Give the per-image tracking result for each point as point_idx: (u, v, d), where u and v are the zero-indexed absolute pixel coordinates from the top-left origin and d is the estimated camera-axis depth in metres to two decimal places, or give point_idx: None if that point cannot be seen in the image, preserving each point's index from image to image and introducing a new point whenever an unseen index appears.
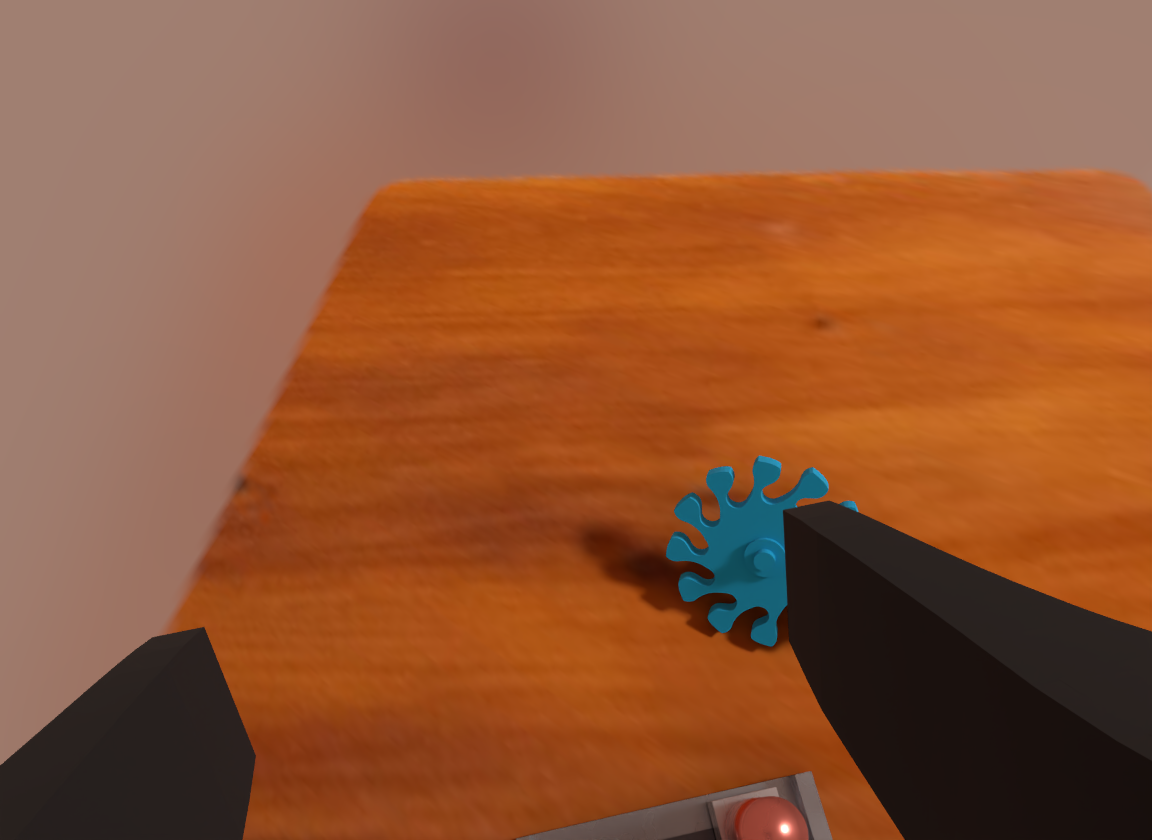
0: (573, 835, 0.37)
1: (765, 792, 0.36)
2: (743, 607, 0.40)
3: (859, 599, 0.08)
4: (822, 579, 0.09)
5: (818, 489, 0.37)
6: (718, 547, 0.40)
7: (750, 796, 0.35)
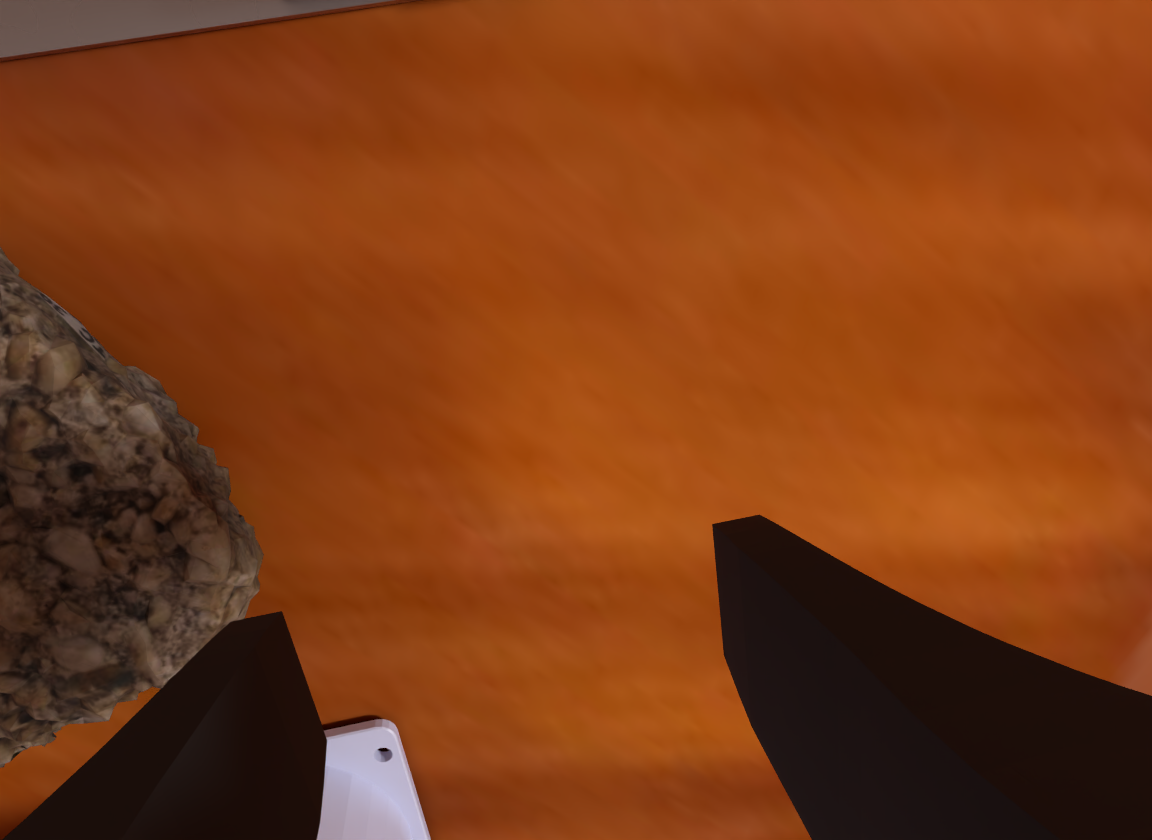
0: None
1: None
2: None
3: (774, 617, 0.08)
4: (744, 595, 0.09)
5: None
6: None
7: None
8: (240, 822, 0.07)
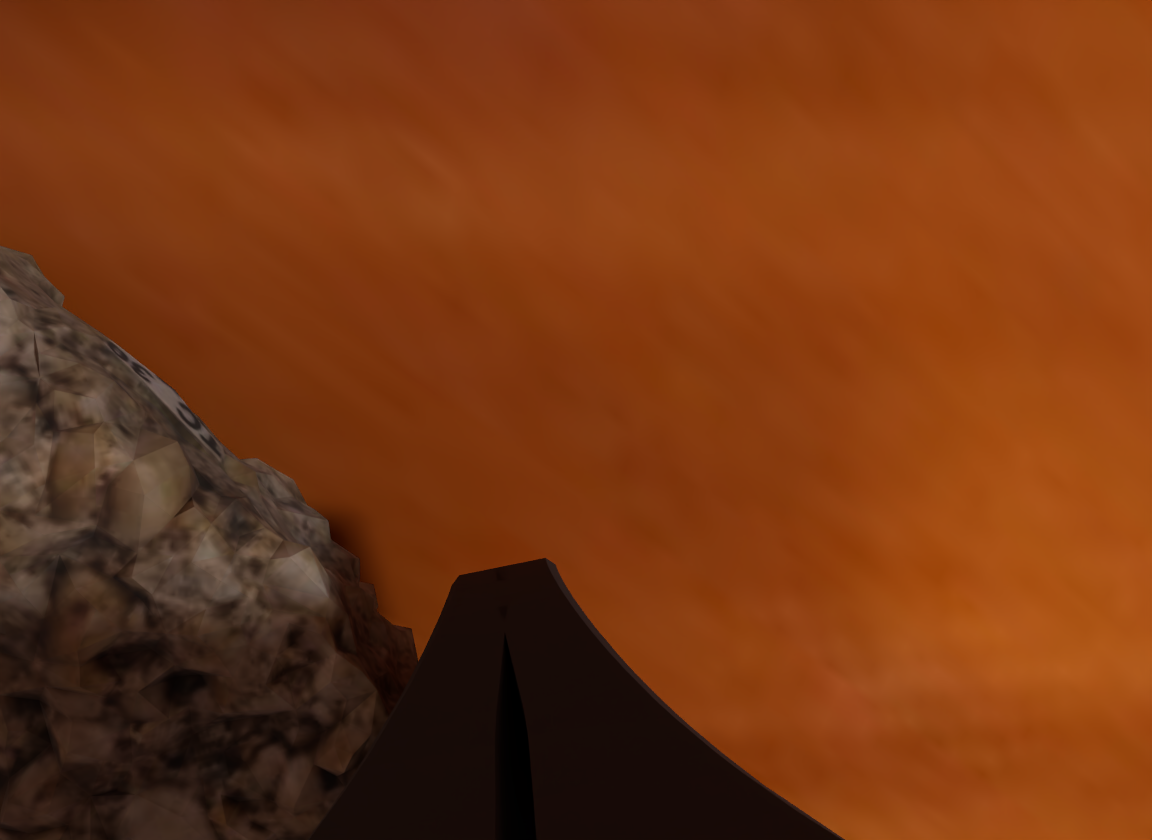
0: None
1: None
2: None
3: (513, 673, 0.08)
4: None
5: None
6: None
7: None
8: (523, 759, 0.08)
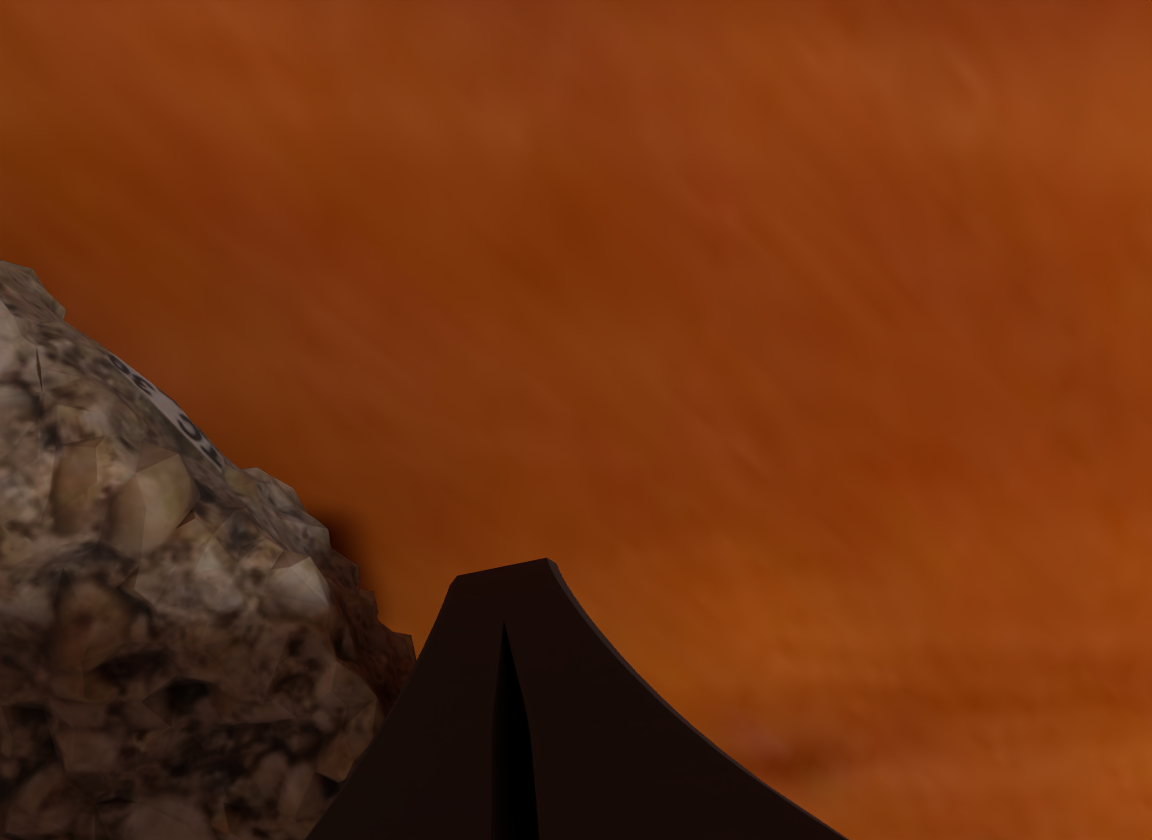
0: None
1: None
2: None
3: (515, 672, 0.08)
4: None
5: None
6: None
7: None
8: (520, 761, 0.08)
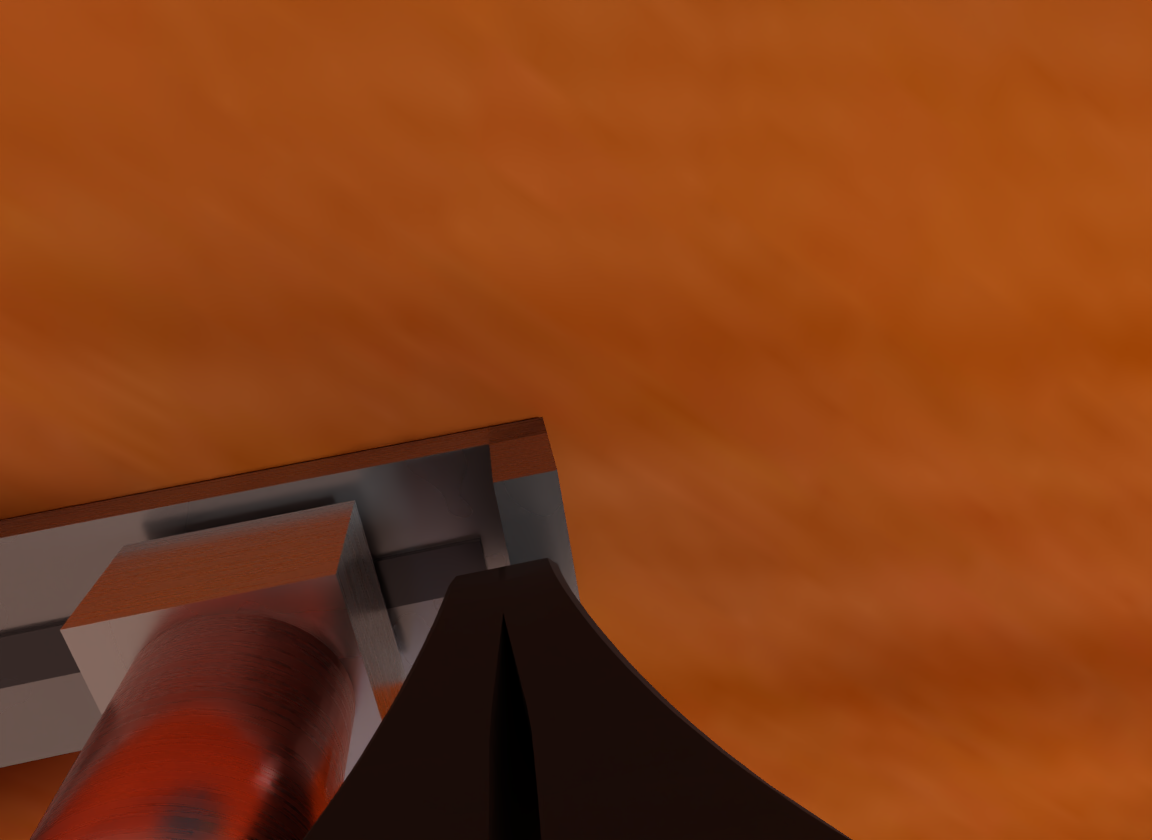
0: None
1: (290, 592, 0.09)
2: None
3: (516, 672, 0.08)
4: None
5: None
6: None
7: (224, 609, 0.09)
8: (518, 761, 0.08)
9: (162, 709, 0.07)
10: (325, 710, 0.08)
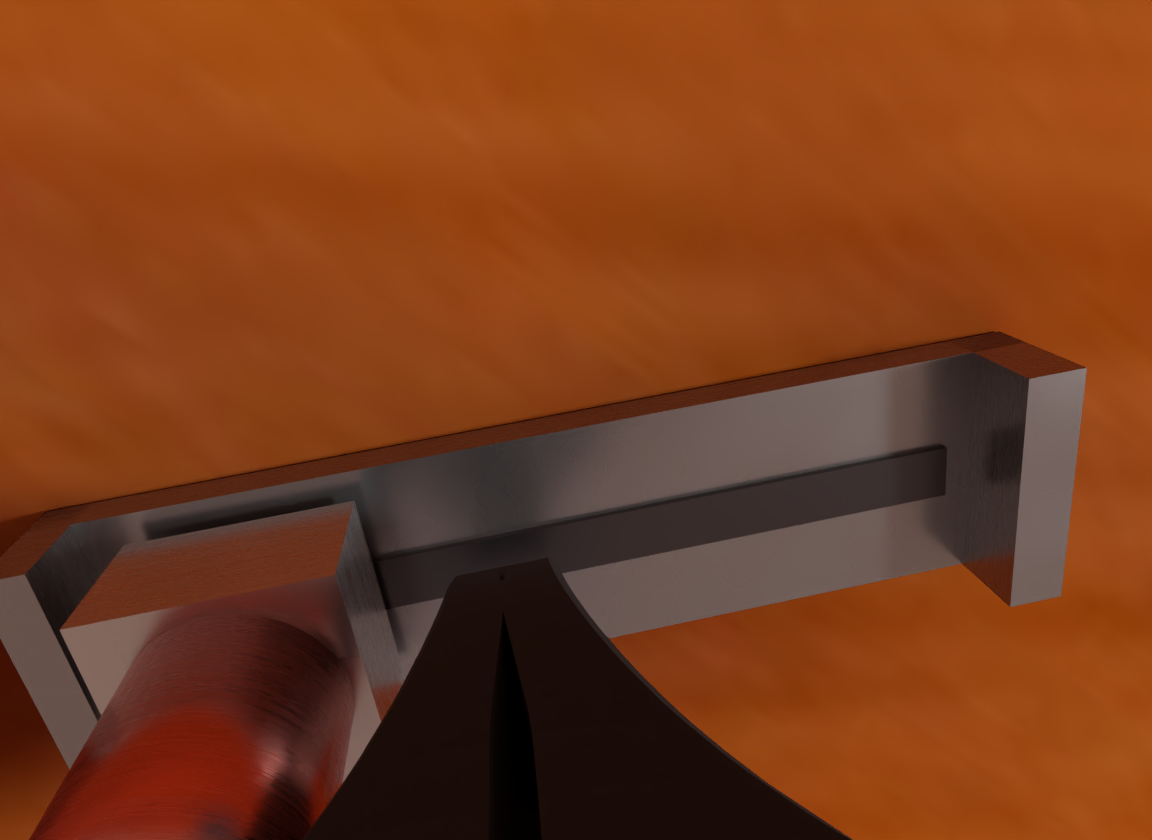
0: (231, 522, 0.11)
1: (289, 592, 0.09)
2: None
3: (517, 672, 0.08)
4: None
5: None
6: None
7: (224, 609, 0.09)
8: (519, 761, 0.08)
9: (161, 709, 0.07)
10: (324, 710, 0.08)
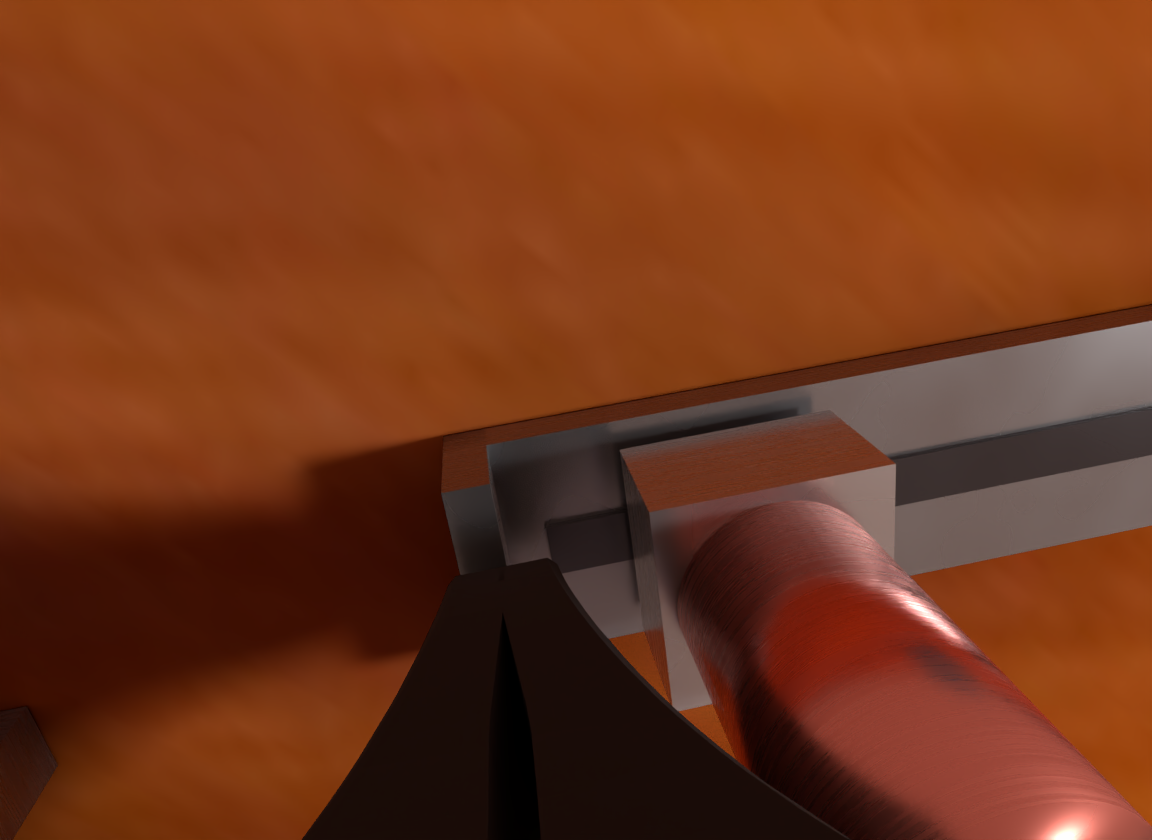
0: (629, 445, 0.11)
1: (851, 480, 0.09)
2: None
3: (516, 672, 0.08)
4: None
5: None
6: None
7: (795, 495, 0.09)
8: (518, 761, 0.08)
9: (831, 570, 0.08)
10: None
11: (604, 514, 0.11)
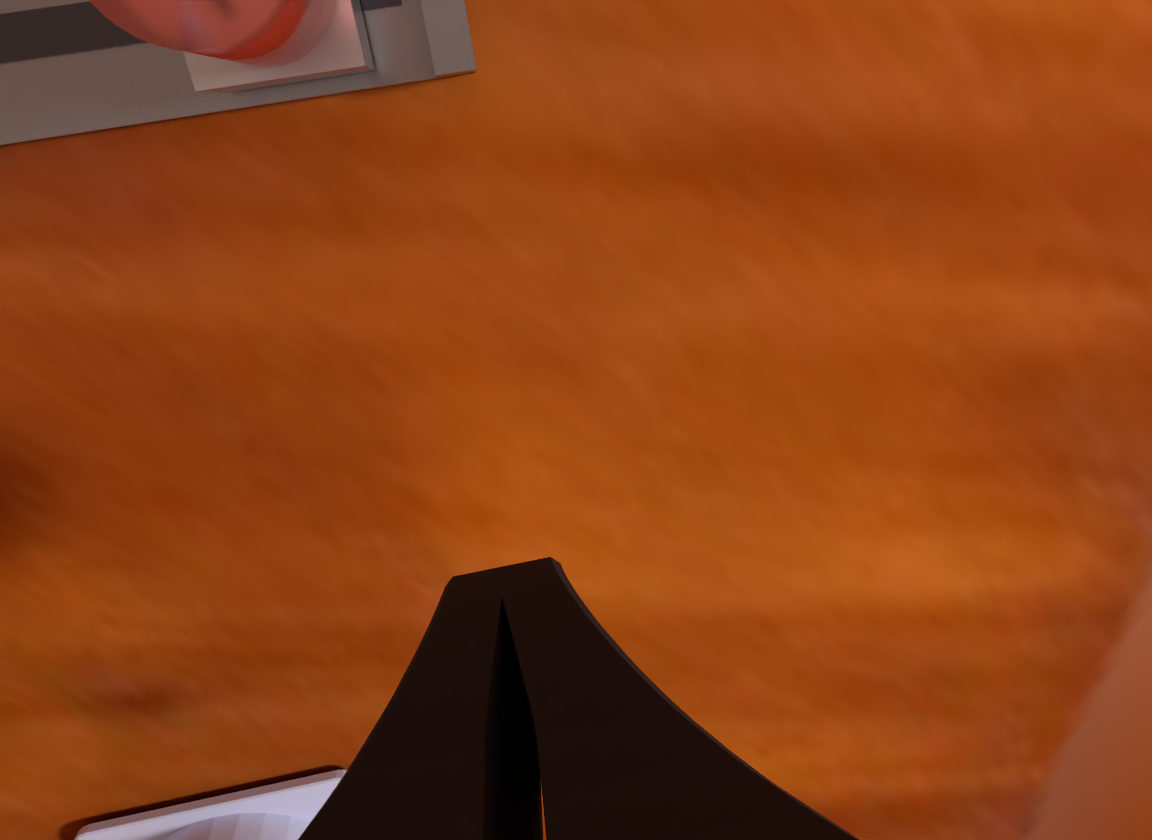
0: None
1: None
2: None
3: (520, 671, 0.08)
4: (513, 644, 0.09)
5: None
6: None
7: None
8: (515, 761, 0.08)
9: None
10: None
11: None
